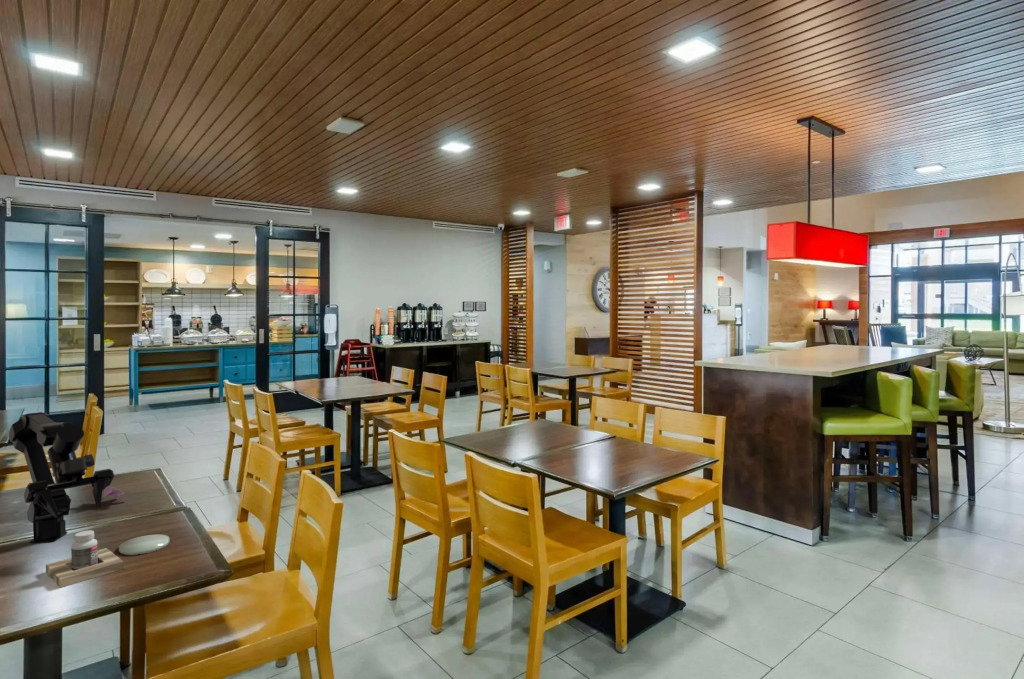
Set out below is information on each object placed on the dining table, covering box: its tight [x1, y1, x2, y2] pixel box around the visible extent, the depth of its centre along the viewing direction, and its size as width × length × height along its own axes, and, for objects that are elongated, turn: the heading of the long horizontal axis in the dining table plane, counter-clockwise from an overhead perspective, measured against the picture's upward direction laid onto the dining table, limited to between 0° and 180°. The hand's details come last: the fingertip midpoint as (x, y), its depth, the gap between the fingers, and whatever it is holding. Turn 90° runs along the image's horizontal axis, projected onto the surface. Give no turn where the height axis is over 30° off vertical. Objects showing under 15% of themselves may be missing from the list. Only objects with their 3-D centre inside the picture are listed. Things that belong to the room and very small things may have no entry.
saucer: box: [118, 534, 170, 556], centre depth 158 cm, size 12×12×1 cm
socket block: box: [45, 547, 124, 589], centre depth 142 cm, size 13×13×2 cm
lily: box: [101, 484, 126, 503], centre depth 192 cm, size 12×12×10 cm
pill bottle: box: [70, 530, 99, 571], centre depth 142 cm, size 5×5×10 cm
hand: (78, 511), depth 148 cm, fingers open, 9 cm apart
